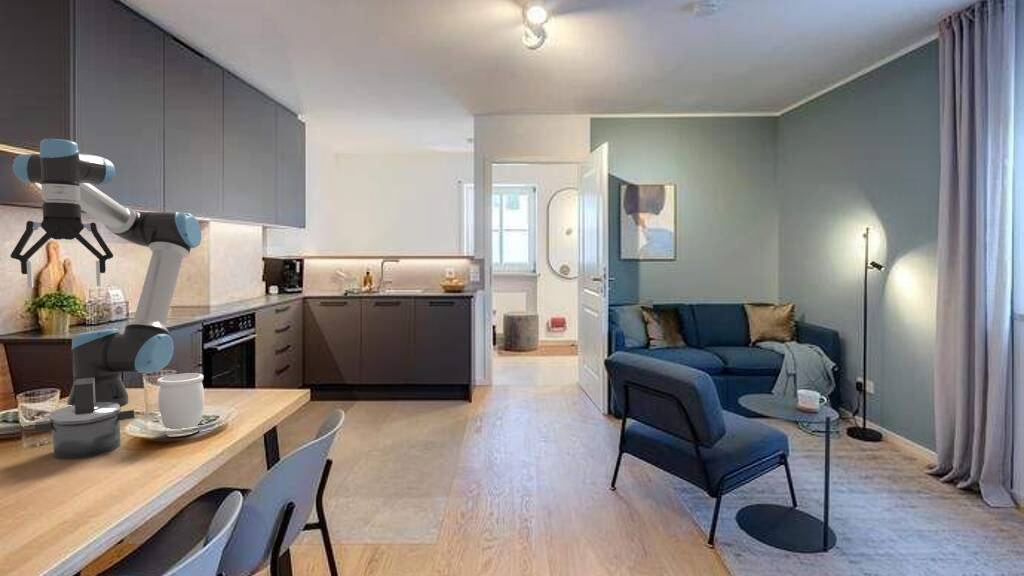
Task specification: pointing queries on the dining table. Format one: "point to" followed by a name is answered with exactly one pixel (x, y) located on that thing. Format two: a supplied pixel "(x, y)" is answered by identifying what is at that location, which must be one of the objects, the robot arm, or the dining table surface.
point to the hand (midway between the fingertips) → (65, 286)
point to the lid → (84, 405)
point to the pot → (85, 436)
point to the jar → (181, 400)
